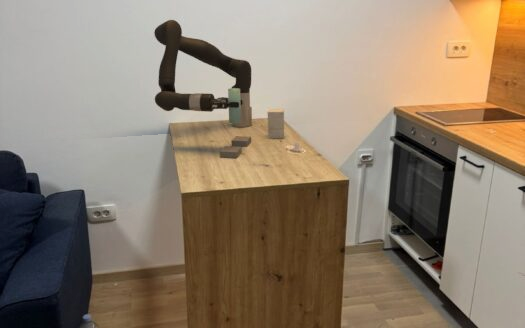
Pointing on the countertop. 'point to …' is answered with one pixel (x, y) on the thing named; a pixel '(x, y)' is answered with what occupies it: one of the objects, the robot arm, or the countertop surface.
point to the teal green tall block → (234, 112)
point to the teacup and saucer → (295, 148)
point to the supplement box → (276, 123)
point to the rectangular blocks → (235, 151)
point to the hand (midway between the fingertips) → (240, 103)
